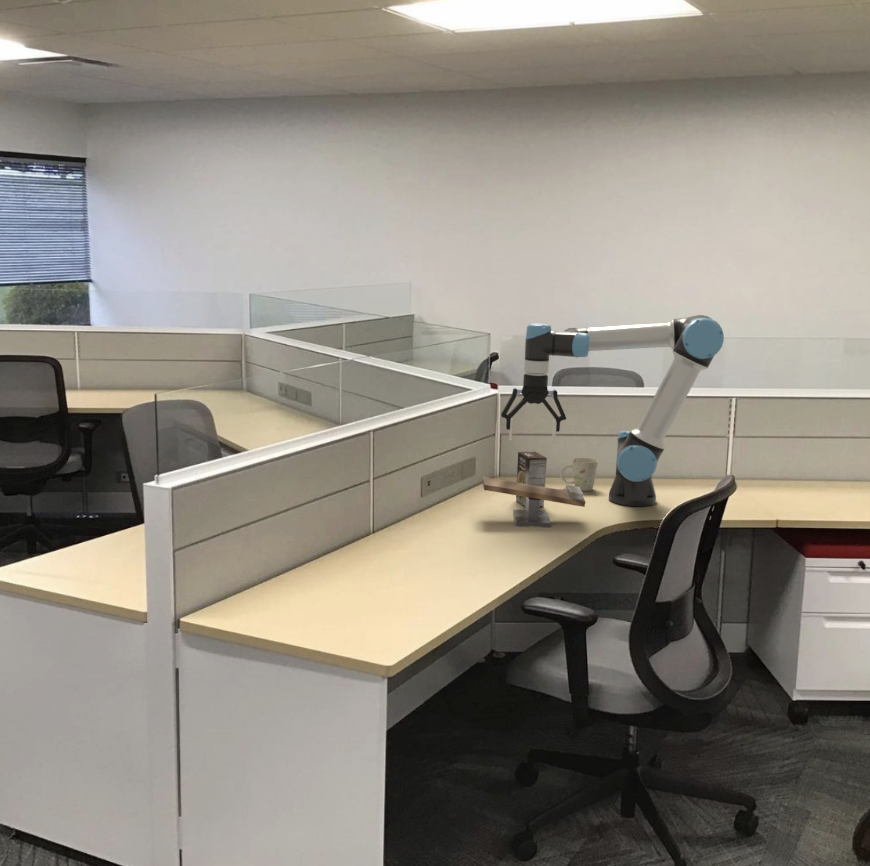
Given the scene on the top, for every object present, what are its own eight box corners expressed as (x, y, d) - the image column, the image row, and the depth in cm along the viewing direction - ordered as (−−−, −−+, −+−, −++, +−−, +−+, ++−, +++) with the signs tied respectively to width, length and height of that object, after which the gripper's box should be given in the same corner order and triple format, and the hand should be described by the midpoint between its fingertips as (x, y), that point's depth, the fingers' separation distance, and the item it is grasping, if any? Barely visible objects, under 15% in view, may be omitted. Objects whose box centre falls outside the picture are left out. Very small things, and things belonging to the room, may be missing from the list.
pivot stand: (545, 514, 307) (547, 490, 306) (550, 527, 294) (551, 502, 292) (513, 513, 307) (514, 489, 306) (516, 526, 294) (517, 500, 292)
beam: (580, 498, 304) (582, 486, 304) (584, 506, 294) (586, 495, 294) (482, 481, 304) (484, 470, 303) (483, 489, 294) (486, 478, 293)
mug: (597, 492, 337) (599, 463, 335) (560, 491, 337) (561, 462, 335) (594, 486, 345) (596, 458, 343) (557, 485, 345) (559, 456, 343)
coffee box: (514, 500, 323) (517, 451, 319) (533, 499, 324) (535, 451, 321) (525, 508, 314) (528, 457, 311) (544, 507, 316) (547, 457, 313)
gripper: (574, 373, 315) (570, 439, 319) (495, 370, 315) (491, 436, 319) (577, 377, 308) (573, 444, 312) (496, 373, 308) (492, 441, 312)
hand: (532, 440), depth 315 cm, fingers open, 13 cm apart
